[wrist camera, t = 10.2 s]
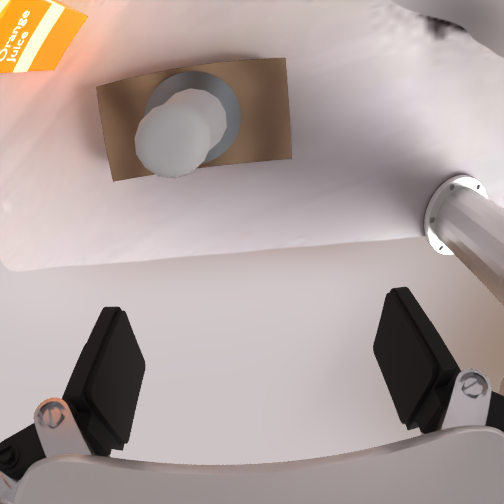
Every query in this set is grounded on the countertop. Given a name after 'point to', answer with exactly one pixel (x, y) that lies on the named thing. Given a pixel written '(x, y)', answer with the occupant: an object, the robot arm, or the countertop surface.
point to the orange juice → (35, 33)
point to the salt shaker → (180, 133)
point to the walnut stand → (219, 85)
